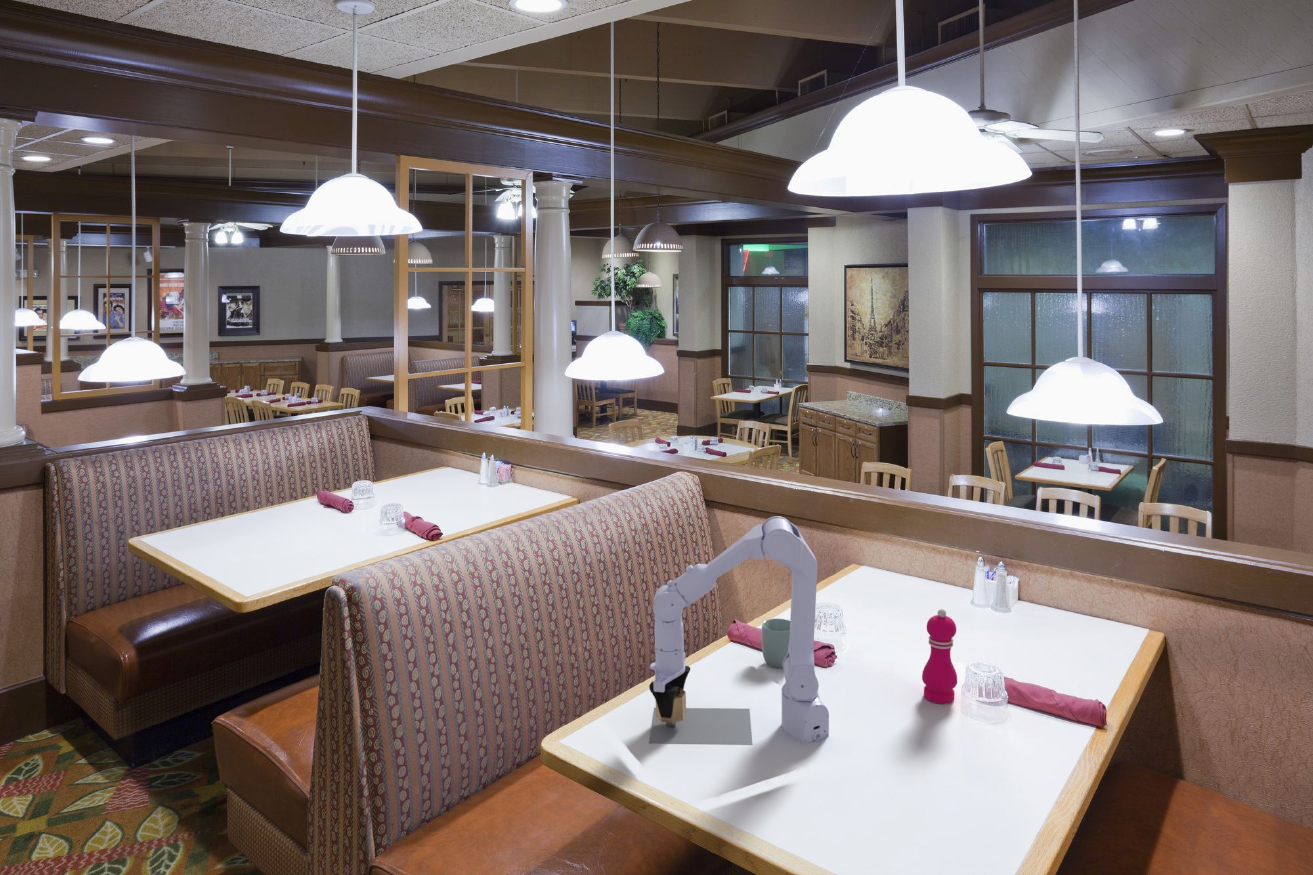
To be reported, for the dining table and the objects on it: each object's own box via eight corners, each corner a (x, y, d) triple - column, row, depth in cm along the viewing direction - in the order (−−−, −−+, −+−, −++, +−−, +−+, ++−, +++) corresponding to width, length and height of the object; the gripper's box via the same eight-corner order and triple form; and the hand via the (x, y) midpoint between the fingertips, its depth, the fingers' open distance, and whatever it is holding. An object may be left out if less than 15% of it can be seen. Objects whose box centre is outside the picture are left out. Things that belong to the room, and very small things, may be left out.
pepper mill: (959, 706, 177) (962, 616, 173) (923, 704, 178) (926, 615, 175) (954, 690, 184) (957, 603, 180) (919, 688, 185) (922, 602, 182)
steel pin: (678, 726, 169) (678, 707, 168) (669, 728, 168) (668, 709, 167) (673, 721, 171) (673, 702, 170) (664, 723, 170) (663, 705, 169)
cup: (785, 674, 193) (785, 634, 192) (756, 666, 198) (755, 626, 196) (801, 662, 199) (801, 622, 198) (772, 654, 204) (772, 615, 202)
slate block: (749, 715, 176) (749, 708, 175) (752, 751, 162) (752, 744, 162) (654, 714, 177) (654, 707, 177) (649, 750, 163) (649, 743, 163)
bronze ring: (690, 718, 168) (689, 695, 167) (664, 725, 166) (664, 701, 165) (677, 706, 173) (676, 683, 172) (652, 712, 171) (651, 689, 170)
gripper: (661, 629, 175) (663, 690, 177) (637, 658, 161) (640, 724, 164) (694, 633, 172) (695, 694, 175) (672, 663, 159) (674, 729, 161)
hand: (671, 709), depth 169 cm, fingers closed on bronze ring, 6 cm apart
